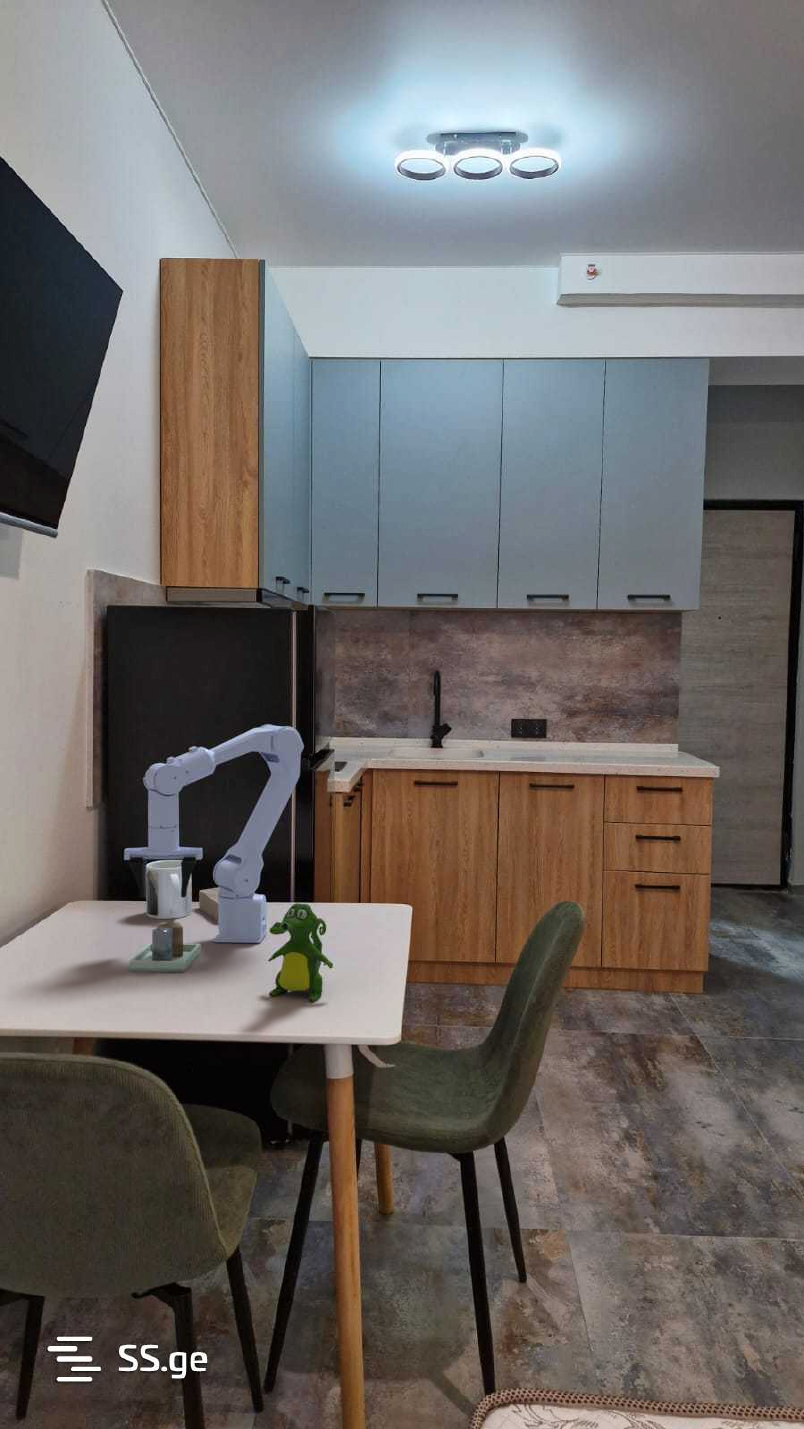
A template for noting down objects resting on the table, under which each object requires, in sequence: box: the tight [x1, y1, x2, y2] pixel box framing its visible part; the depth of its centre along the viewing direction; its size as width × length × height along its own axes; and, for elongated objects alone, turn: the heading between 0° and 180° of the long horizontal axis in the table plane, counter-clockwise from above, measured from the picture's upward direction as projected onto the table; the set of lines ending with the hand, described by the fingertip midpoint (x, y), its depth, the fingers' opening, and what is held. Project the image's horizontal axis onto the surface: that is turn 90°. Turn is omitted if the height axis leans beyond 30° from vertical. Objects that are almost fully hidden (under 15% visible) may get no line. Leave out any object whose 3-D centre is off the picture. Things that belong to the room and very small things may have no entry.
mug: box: [145, 859, 193, 920], centre depth 221 cm, size 10×12×11 cm
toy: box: [267, 902, 334, 1002], centre depth 168 cm, size 12×19×15 cm, turn 160°
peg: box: [151, 927, 173, 961], centre depth 183 cm, size 4×4×6 cm
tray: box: [128, 942, 202, 973], centre depth 186 cm, size 10×12×2 cm
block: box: [156, 921, 184, 958], centre depth 188 cm, size 4×4×6 cm
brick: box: [198, 886, 219, 922], centre depth 223 cm, size 17×8×5 cm, turn 29°
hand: (163, 896), depth 194 cm, fingers open, 7 cm apart
